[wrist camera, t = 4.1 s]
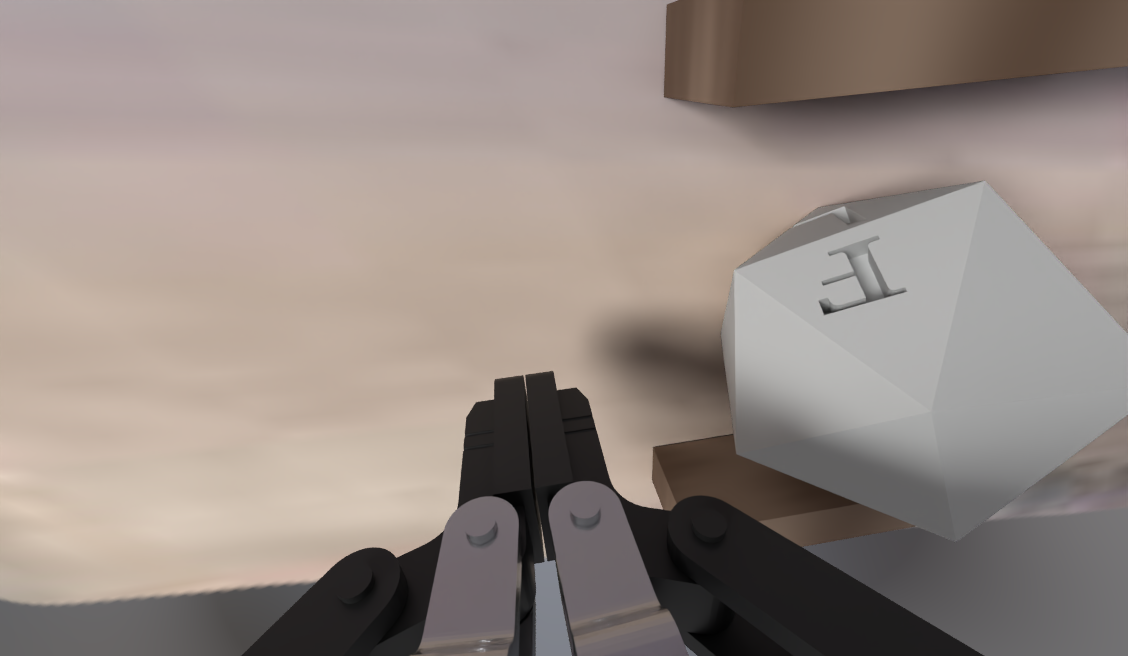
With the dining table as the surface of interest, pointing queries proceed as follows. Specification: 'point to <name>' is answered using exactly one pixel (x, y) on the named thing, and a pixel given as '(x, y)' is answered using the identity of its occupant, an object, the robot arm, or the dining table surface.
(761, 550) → the robot arm
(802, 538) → the pair of wooden rails
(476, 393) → the dining table surface
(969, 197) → the die
